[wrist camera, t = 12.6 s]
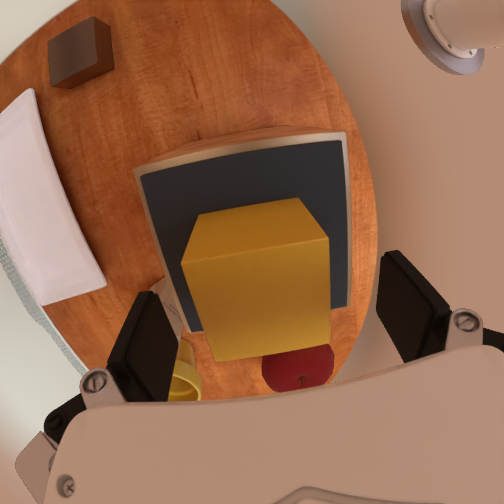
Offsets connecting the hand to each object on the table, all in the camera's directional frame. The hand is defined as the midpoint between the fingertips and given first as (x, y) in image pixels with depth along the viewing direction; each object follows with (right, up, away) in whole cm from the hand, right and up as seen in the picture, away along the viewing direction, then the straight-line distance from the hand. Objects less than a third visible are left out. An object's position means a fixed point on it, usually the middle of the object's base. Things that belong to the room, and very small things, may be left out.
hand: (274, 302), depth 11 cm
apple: (+6, -11, +34) cm, 36 cm away
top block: (-1, +2, +5) cm, 6 cm away
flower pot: (-14, -15, +35) cm, 40 cm away
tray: (-34, +10, +21) cm, 41 cm away
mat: (-1, +2, +5) cm, 6 cm away
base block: (-22, +27, +13) cm, 37 cm away
